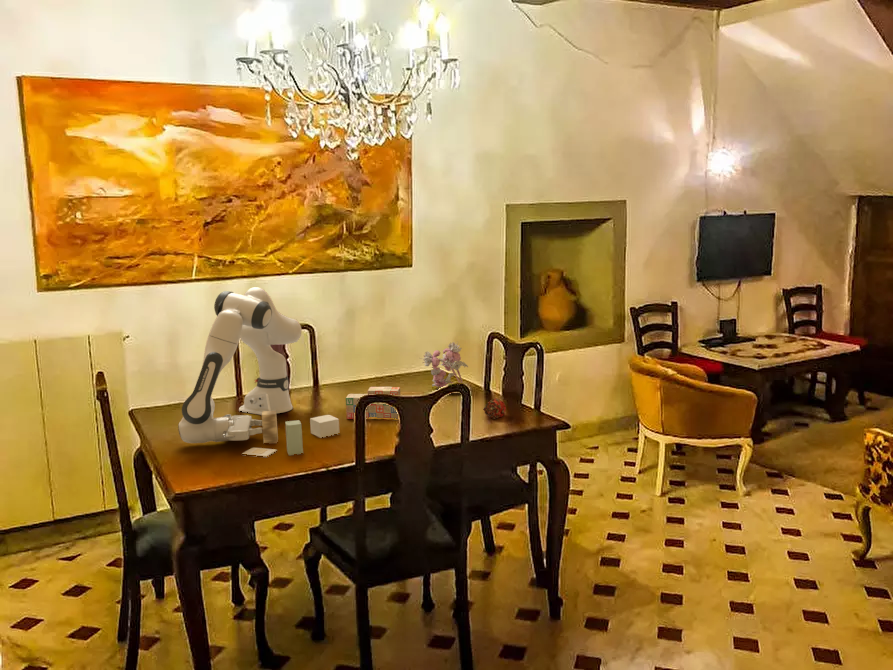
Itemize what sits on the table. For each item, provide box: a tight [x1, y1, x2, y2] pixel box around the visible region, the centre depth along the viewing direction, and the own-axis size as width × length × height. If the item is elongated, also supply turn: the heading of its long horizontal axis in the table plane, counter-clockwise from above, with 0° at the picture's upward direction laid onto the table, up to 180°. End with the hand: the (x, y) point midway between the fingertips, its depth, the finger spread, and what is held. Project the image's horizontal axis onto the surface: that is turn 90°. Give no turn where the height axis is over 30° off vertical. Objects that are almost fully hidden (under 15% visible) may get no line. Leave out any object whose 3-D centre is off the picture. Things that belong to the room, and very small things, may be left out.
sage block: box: [285, 419, 304, 456], centre depth 305 cm, size 5×5×11 cm
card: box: [241, 446, 278, 458], centre depth 306 cm, size 10×7×1 cm
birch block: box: [261, 411, 279, 444], centre depth 318 cm, size 5×5×11 cm
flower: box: [419, 341, 469, 389], centre depth 382 cm, size 20×22×25 cm
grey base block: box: [309, 414, 340, 439], centre depth 327 cm, size 8×8×6 cm
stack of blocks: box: [345, 386, 401, 420], centre depth 345 cm, size 21×6×12 cm, turn 83°
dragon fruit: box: [482, 397, 507, 420], centre depth 341 cm, size 8×8×12 cm
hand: (263, 426), depth 318 cm, fingers open, 8 cm apart
